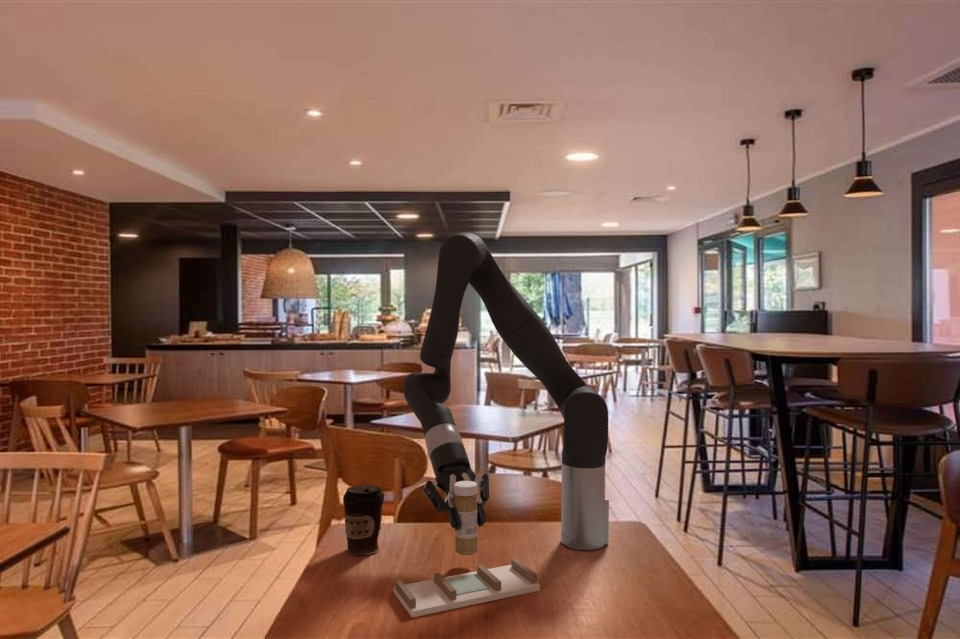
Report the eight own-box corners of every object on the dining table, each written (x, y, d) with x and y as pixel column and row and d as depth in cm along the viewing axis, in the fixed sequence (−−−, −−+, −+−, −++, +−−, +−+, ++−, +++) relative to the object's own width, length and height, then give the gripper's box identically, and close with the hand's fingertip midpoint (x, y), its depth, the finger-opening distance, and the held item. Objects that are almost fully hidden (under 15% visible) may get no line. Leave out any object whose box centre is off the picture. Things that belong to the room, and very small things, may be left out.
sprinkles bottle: (475, 546, 126) (474, 479, 126) (480, 555, 122) (479, 485, 122) (452, 548, 125) (452, 480, 125) (456, 557, 121) (456, 487, 121)
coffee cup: (374, 560, 126) (374, 495, 126) (335, 557, 128) (335, 493, 128) (389, 544, 135) (389, 483, 134) (352, 541, 136) (352, 481, 136)
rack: (513, 569, 122) (513, 556, 122) (539, 590, 113) (539, 576, 113) (393, 592, 112) (393, 578, 112) (412, 617, 103) (412, 602, 103)
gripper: (418, 444, 127) (440, 522, 116) (482, 437, 133) (509, 511, 122) (410, 464, 132) (431, 541, 121) (472, 456, 138) (497, 529, 127)
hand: (470, 526), depth 122 cm, fingers closed on sprinkles bottle, 4 cm apart
